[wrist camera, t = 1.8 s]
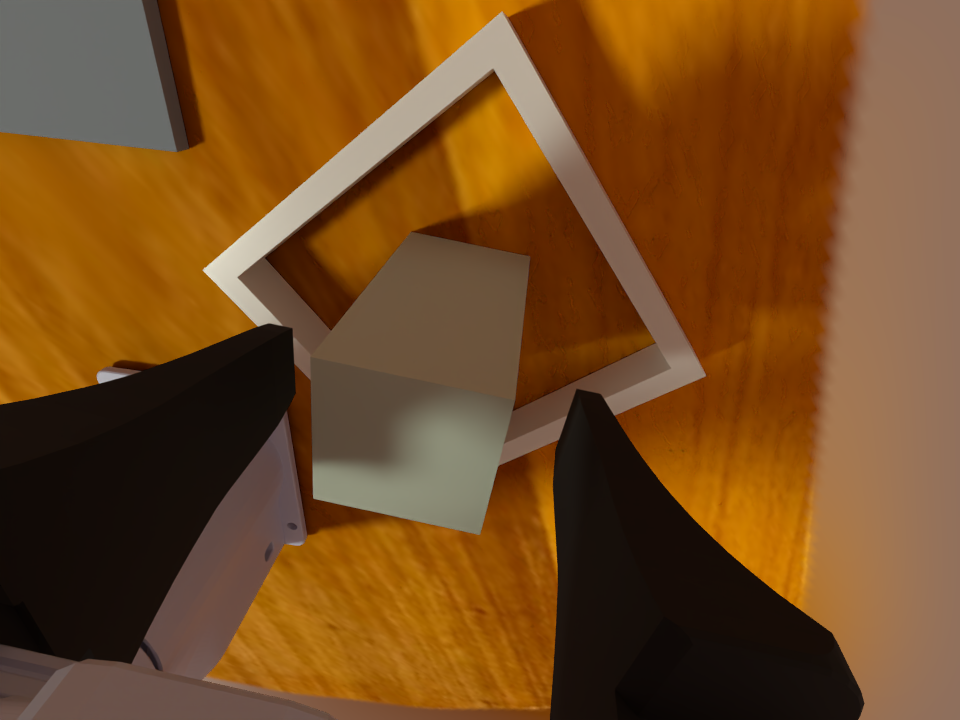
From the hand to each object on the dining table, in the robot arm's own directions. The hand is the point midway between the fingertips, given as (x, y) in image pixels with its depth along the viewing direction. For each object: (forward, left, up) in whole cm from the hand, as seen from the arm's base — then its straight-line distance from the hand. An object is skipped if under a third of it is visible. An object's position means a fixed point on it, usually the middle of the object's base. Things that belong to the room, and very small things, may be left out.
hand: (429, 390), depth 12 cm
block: (0, 0, -6) cm, 6 cm away
